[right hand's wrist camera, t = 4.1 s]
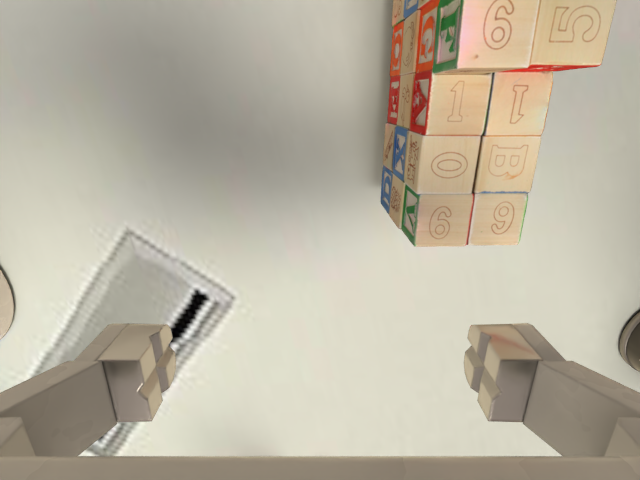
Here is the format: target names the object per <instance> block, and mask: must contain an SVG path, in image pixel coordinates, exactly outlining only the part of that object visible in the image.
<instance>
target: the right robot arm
mask: <svg viewBox="0 0 640 480" xmlns="http://www.w3.org/2000/svg"><path fill="white" fill-rule="evenodd" d="M13 313H14V303H13V297H12V293H11V290H10V287H9V285H8V282H7V280H6V278H5V277H4V275H3V273H2V272H1V270H0V339H1V338H2V337H3V336H4V335H5V334H6V332H7V331H8V329H9V327H10V325H11V322H12V319H13ZM171 340H172V333H171V328H170V327H169V326H168V325H167V324H129V323H121V324H110V325H107V327H106V328H105V329H104V330H103V331H102V332H101V333H100V334H99V335H98V336H97V337H96V338H95V339H94V340H93V341H92V342H91V343H90V344H89V345H88V347H87V348H86V349H85V350H84V351H83V352H82V353H81V354H80V355H79V356H78V357H77V358H76V359H75V360H74V361H66V362H64V363H62V364H60V365H58V366H56V367H54V368H52V369H50V370H48V371H45V372H43V373H41V374H39V375H37V376H35V377H33V378H31V379H29V380H26V381H24V382H22V383H20V384H18V385H16V386H14V387H12V388H10V389H7V390H5V391H3V392H1V393H0V480H640V393H639V392H637V391H635V390H632V389H630V388H628V387H626V386H624V385H622V384H620V383H618V382H616V381H613V380H611V379H609V378H607V377H605V376H603V375H601V374H599V373H597V372H595V371H592V370H590V369H588V368H586V367H584V366H582V365H580V364H578V363H576V362H574V361H566V360H565V359H564V358H563V357H562V356H561V355H560V354H559V353H558V352H557V351H556V350H555V349H554V348H553V346H552V345H551V344H550V343H549V342H548V341H547V340H546V339H545V338H544V337H543V336H542V335H541V334H540V333H539V332H538V331H537V330H536V329H535V327H534V326H533V325H531V324H528V323H520V324H491V325H471V327H470V329H469V332H468V340H469V341H470V343H471V345H472V346H471V347H470V348H469V349H468V350H467V351H466V352H465V357H464V369H465V375H466V378H467V381H468V383H469V385H470V387H471V388H472V389H473V390H475V391H476V392H478V393H479V394H478V400H477V401H478V403H479V405H480V406H481V408H482V410H483V412H484V414H485V416H486V418H487V420H488V421H502V422H523V424H524V425H525V426H526V427H528V428H529V429H530V430H531V431H533V432H534V433H535V434H536V435H537V436H539V437H540V438H541V439H542V440H544V441H545V442H546V443H547V444H548V445H550V446H551V447H552V448H553V449H555V450H556V451H557V452H558V453H559V454H561V455H562V456H78V455H79V454H81V453H82V452H83V451H84V450H86V449H87V448H88V447H89V446H90V445H92V444H93V443H94V442H95V441H97V440H98V439H99V438H100V437H102V436H103V435H104V434H105V433H106V432H108V431H109V430H110V429H111V428H113V427H114V426H115V425H116V424H117V422H137V421H152V420H153V418H154V416H155V414H156V412H157V410H158V408H159V406H160V405H161V403H162V401H163V400H162V394H161V393H162V392H164V391H165V390H167V389H168V388H169V387H170V385H171V383H172V381H173V379H174V375H175V370H176V356H175V352H174V351H173V350H172V349H171V348H170V347H169V346H168V345H169V343H170V342H171Z"/></svg>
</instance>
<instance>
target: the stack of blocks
mask: <svg viewBox="0 0 640 480" xmlns="http://www.w3.org/2000/svg"><path fill="white" fill-rule="evenodd" d="M616 2H617V0H393V14H392V28H393V36H392V52H391V66H390V77H391V80H390V91H389V106H388V122H387V123H386V125H385V138H384V152H383V173H382V188H381V204H382V205H383V207H384V208H385V210H386V211H387V213H388V214H389V216H390V217H391V219H392V220H393V222H394V223H395V224H396V226H397V227H398V228H399V229H402V231H403V232H404V234H405V235H406V236H407V237H408V239H409V240H410V242H411V243H412V244H413V245H414V246H415V247H424V246H465V245H518V244H519V241H520V237H521V232H522V227H523V221H524V216H525V212H526V207H527V201H528V193H529V192H530V190H531V187H532V182H533V177H534V172H535V168H536V163H537V157H538V152H539V148H540V143H541V135H542V133H543V129H544V126H545V120H546V116H547V111H548V105H549V99H550V94H551V89H552V84H553V73H552V71H562V70H569V69H578V68H587V67H597V66H600V65H601V63H602V60H603V56H604V52H605V48H606V44H607V39H608V35H609V31H610V26H611V22H612V18H613V14H614V10H615V6H616Z"/></svg>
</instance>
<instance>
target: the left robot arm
mask: <svg viewBox="0 0 640 480" xmlns="http://www.w3.org/2000/svg"><path fill="white" fill-rule="evenodd" d="M620 353H621V356H622V357H623V359H624V360H625V361H626V362H627V363H628V364H629V365H630V366H631V367H633V368H634V369H635V370H637V371H639V372H640V312H639V313H637V314H636V315H635V316H634V317H633V318H632V319H631V320H630V322H629V323H628V324H627V326H626V327H625V329H624V331H623V333H622V335H621V339H620Z"/></svg>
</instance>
